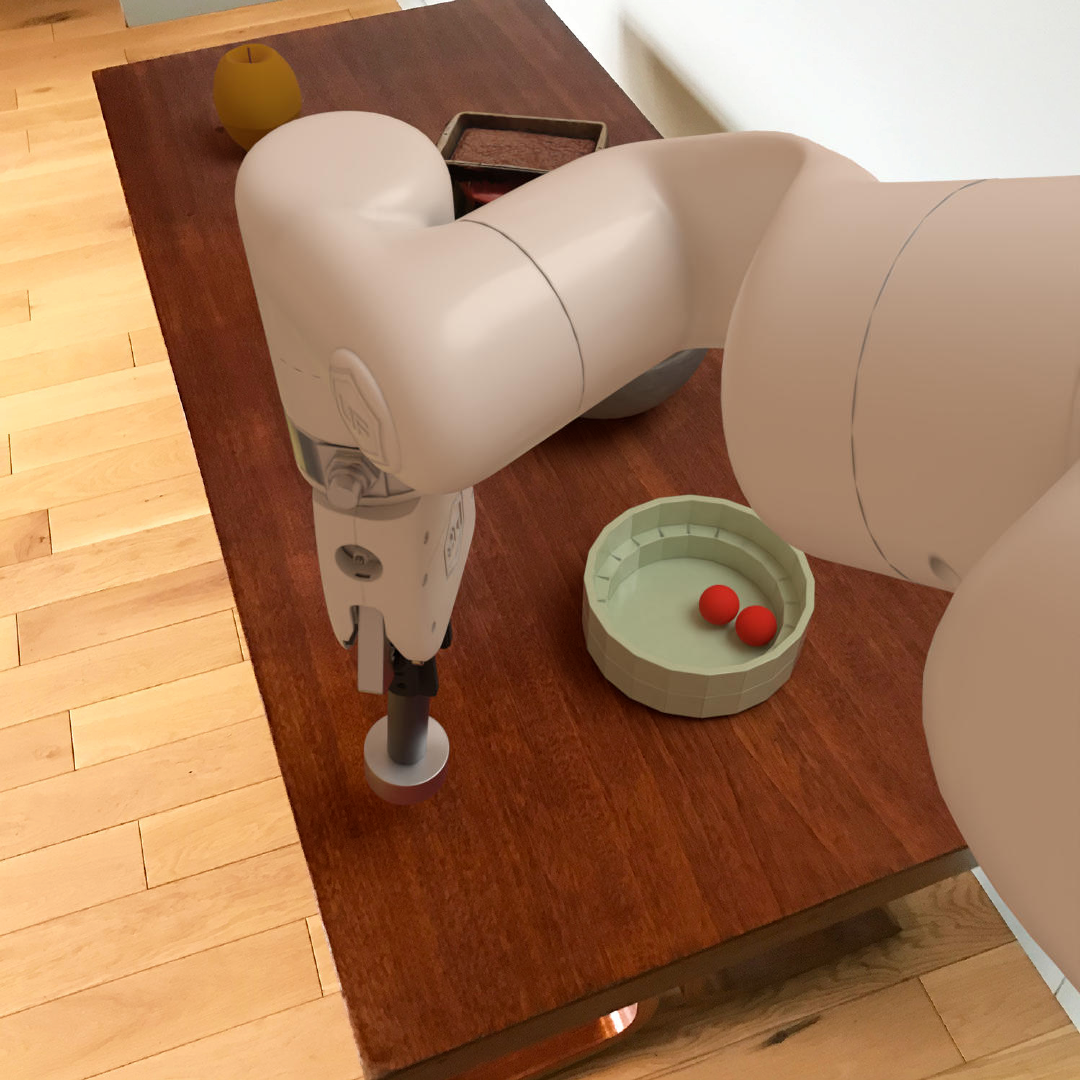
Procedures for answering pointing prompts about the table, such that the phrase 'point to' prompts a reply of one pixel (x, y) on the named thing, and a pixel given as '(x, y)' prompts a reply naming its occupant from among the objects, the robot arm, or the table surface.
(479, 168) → the baking dish
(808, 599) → the mixing bowl
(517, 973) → the table surface
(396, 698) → the dark post
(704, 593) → the tomato
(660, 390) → the bowl
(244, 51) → the apple
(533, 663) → the table surface
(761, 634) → the tomato
